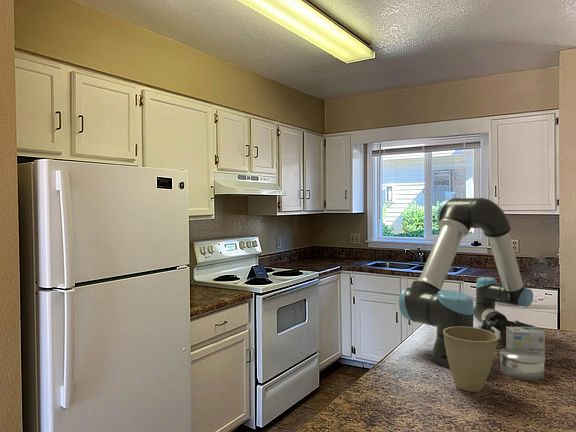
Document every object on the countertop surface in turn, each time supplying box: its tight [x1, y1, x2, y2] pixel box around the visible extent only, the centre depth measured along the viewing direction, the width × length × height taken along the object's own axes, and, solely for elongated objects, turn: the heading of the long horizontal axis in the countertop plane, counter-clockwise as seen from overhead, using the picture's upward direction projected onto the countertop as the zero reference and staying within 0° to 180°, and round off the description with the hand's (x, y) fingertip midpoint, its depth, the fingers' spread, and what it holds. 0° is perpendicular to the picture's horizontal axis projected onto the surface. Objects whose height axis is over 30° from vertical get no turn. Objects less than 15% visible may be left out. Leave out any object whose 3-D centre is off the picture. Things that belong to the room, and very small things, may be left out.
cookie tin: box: [499, 347, 546, 381], centre depth 143 cm, size 13×13×6 cm
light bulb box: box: [505, 326, 546, 364], centre depth 154 cm, size 11×7×11 cm, turn 84°
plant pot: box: [443, 326, 499, 393], centre depth 131 cm, size 15×15×16 cm
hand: (518, 335), depth 160 cm, fingers open, 13 cm apart
